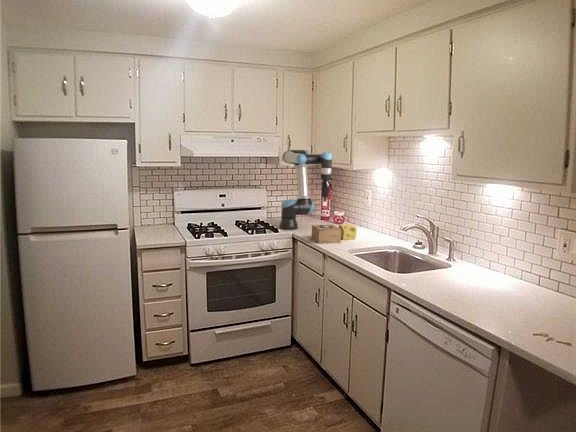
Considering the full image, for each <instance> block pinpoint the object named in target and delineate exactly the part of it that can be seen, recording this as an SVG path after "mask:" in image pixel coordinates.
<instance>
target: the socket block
mask: <svg viewBox="0 0 576 432" xmlns="http://www.w3.org/2000/svg"><path fill="white" fill-rule="evenodd" d="M323 226H330V227H323ZM338 227H339V226H336V225H335V224H311V239H312V240H313V241H314V242H316V243H317V244H319V245H323V244H324V243H326V244H341V241H342V238H341V229H340V228H338Z"/></svg>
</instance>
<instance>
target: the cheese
mask: <svg viewBox="0 0 576 432" xmlns="http://www.w3.org/2000/svg"><path fill="white" fill-rule="evenodd" d="M337 227H338V228H340V229H341V241H351V240H352V241H353V240H354V241H355V240H356V237H357V232H358V231H357V229H358V228H357V226H356V225H353V224H346V223H345V224H338V226H337Z"/></svg>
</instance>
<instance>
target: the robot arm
mask: <svg viewBox="0 0 576 432" xmlns="http://www.w3.org/2000/svg"><path fill="white" fill-rule="evenodd" d="M282 159H283V161H284V162H285V163H286V164H289V165H294V167H295V168H296V176H297V193H298V197H297V198H296V199H294V198H291V199H286V200H285V199H284V200H283V201H282V202H281V220H280V222H279V225H278V226H279V227H278V228H279V229H280V230H287V231H290V230H291V231H292V230H297V229H298V227H299V225H298V222H297V216H308V215H311V214H313V212H314V209H315V202H314V201H313V200H312V198H311V196H310V192H309V178H308V167H309V165H312V166H313V165H318V166H319V165H320V166H321V167H320V179H321V180H322V182H321V195H322V206H323V207H324V206H325V207H327V205H328V201H327V200H328V197H329V194H330V193H329V191H330V185H331V184H330V182H329V180H331V179H332V164H333V154H332V152H328V151H327V152H325V151H324V152H323V151H322V153H316V154H315V153H314V154H311V153H310V152H309V151H308V150H307V149H305V150H304V149H288V150H286V151H285V152H284V153H283V154H282Z"/></svg>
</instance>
